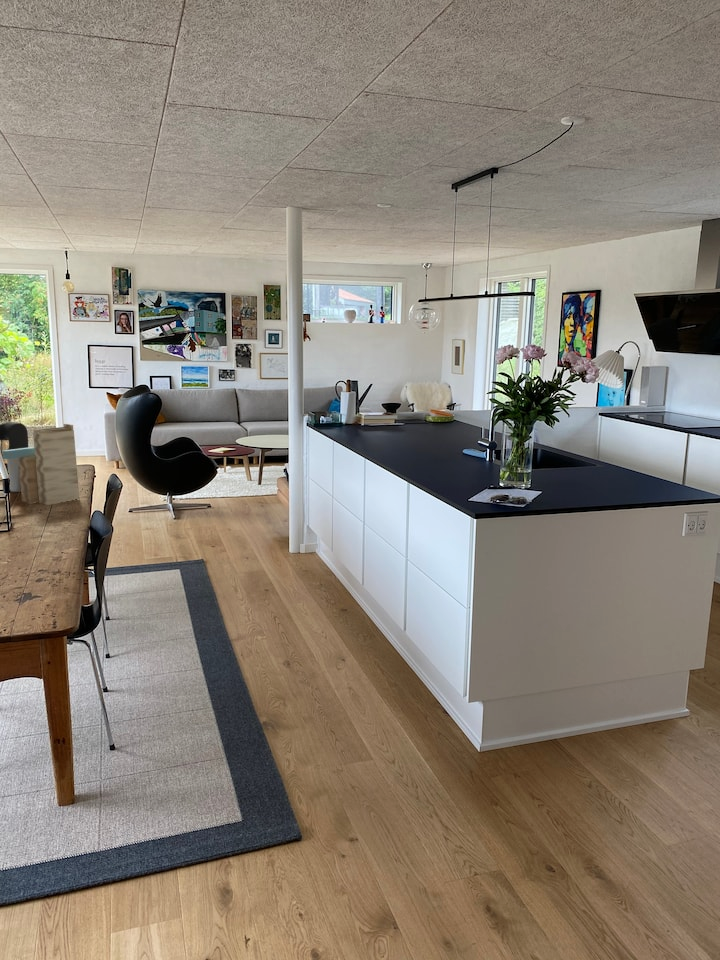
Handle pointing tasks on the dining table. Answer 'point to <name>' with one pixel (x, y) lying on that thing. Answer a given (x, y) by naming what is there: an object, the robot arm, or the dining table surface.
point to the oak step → (28, 479)
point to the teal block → (18, 453)
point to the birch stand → (56, 464)
